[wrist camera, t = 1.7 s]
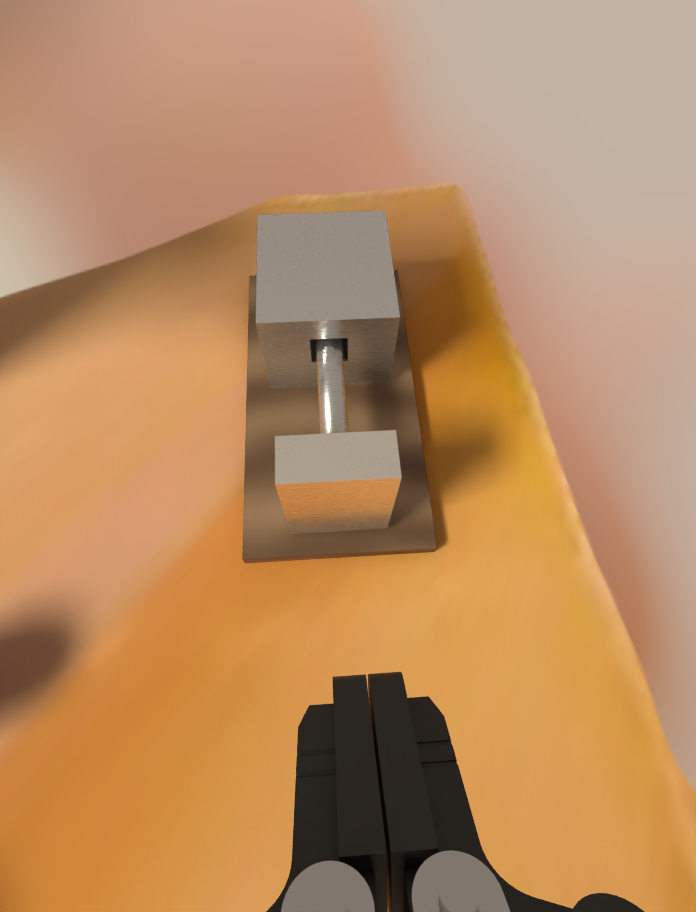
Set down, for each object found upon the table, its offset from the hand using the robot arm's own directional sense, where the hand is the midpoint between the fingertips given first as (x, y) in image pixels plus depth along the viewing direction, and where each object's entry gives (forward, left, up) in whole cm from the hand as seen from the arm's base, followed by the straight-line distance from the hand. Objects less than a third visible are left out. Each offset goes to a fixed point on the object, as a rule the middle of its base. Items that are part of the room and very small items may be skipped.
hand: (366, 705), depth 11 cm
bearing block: (-17, +24, -23) cm, 37 cm away
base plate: (-13, +19, -25) cm, 34 cm away
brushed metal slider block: (-12, +17, -23) cm, 31 cm away
